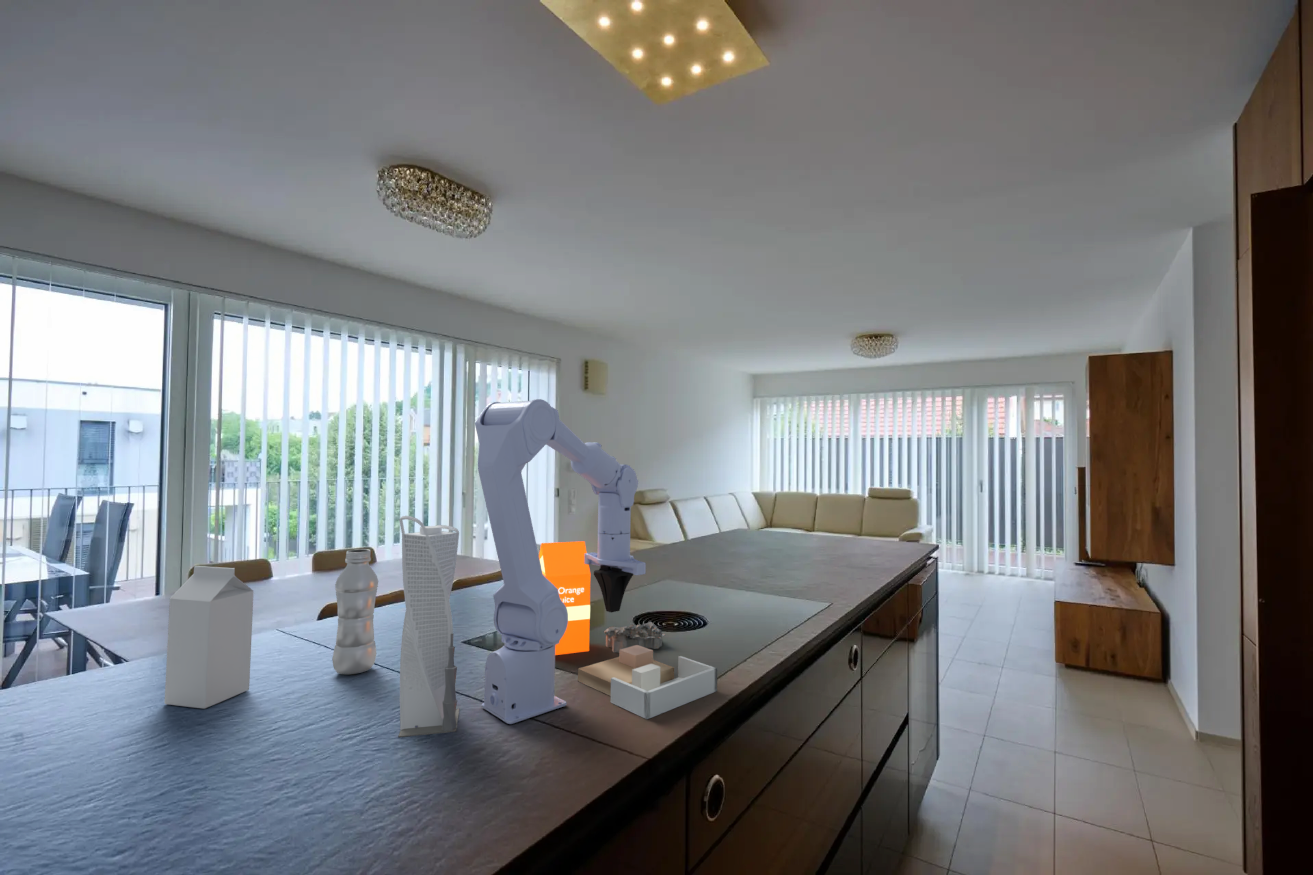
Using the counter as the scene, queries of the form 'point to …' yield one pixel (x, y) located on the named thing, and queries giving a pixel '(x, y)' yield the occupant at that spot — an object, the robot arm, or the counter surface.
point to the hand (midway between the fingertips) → (612, 610)
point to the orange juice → (570, 590)
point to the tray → (666, 690)
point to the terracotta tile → (636, 656)
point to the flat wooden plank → (615, 674)
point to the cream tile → (646, 677)
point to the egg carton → (633, 636)
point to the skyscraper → (428, 632)
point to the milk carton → (209, 639)
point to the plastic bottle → (355, 614)
